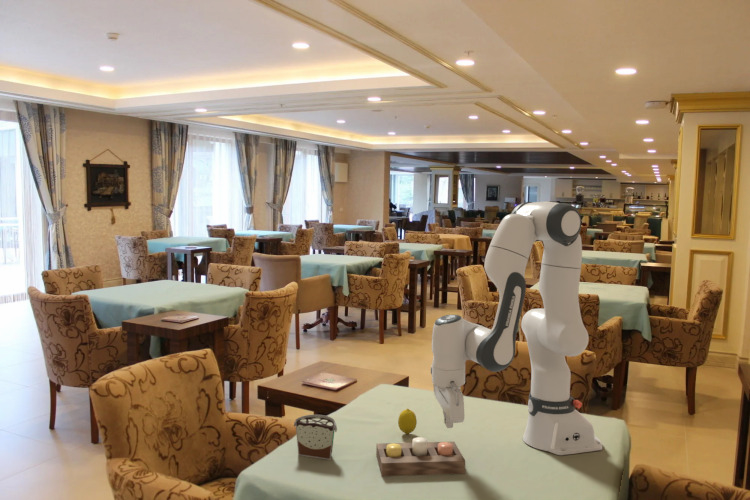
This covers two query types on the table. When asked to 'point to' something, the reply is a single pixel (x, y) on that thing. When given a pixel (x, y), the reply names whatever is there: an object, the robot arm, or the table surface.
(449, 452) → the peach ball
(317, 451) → the food container
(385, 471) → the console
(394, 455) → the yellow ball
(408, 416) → the lemon
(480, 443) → the table surface
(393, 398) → the table surface
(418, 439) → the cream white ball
